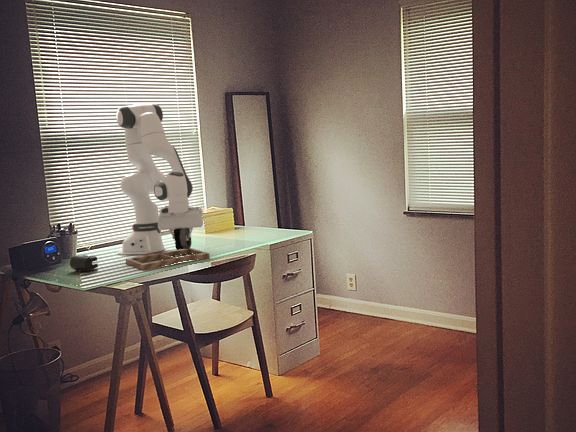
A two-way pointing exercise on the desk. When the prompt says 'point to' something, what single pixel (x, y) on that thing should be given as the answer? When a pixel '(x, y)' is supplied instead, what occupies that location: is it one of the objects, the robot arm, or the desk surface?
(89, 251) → the desk surface
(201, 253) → the wooden divided tray
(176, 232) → the cpu cooler
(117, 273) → the desk surface
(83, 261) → the end cap
